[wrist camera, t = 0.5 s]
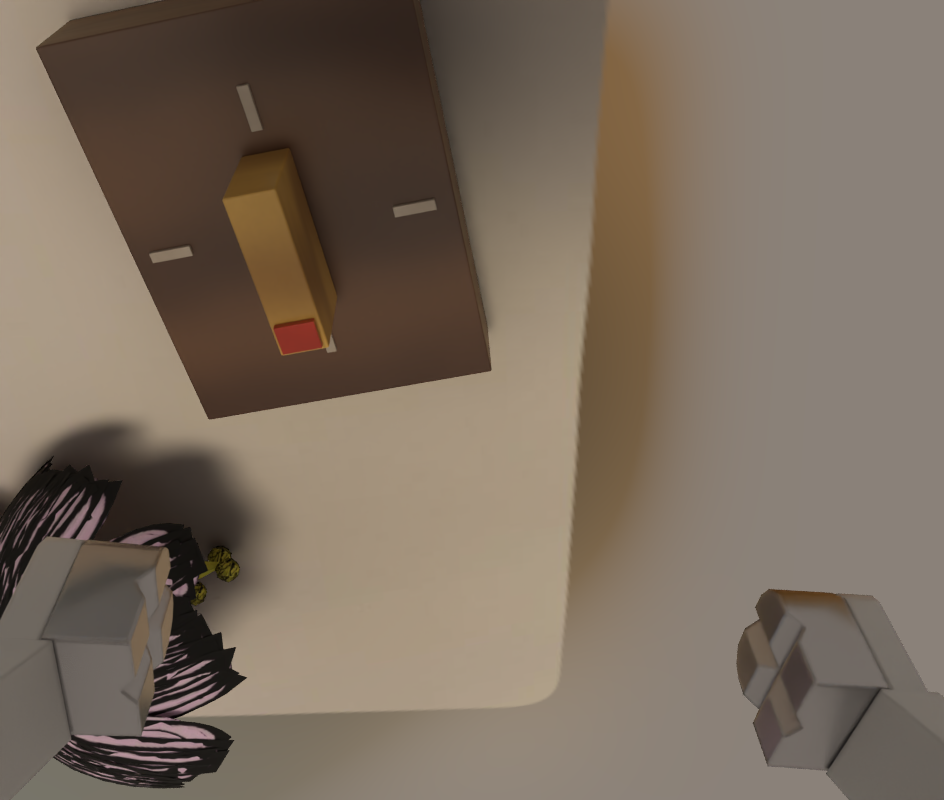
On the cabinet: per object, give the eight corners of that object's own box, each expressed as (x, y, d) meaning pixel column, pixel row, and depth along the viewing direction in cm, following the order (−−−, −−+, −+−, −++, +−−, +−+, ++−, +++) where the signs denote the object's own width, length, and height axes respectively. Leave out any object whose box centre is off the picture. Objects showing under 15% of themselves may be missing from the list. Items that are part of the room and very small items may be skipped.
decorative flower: (-133, 532, 28) (233, 818, 30) (113, 336, 36) (382, 573, 39) (-187, 657, 37) (95, 866, 40) (18, 478, 46) (239, 660, 48)
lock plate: (68, 20, 28) (32, 49, 26) (409, -53, 27) (406, -31, 25) (223, 375, 36) (207, 423, 34) (487, 328, 36) (492, 374, 33)
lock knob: (240, 156, 28) (219, 203, 25) (289, 146, 28) (274, 192, 25) (293, 305, 31) (280, 361, 28) (337, 297, 31) (328, 352, 28)
